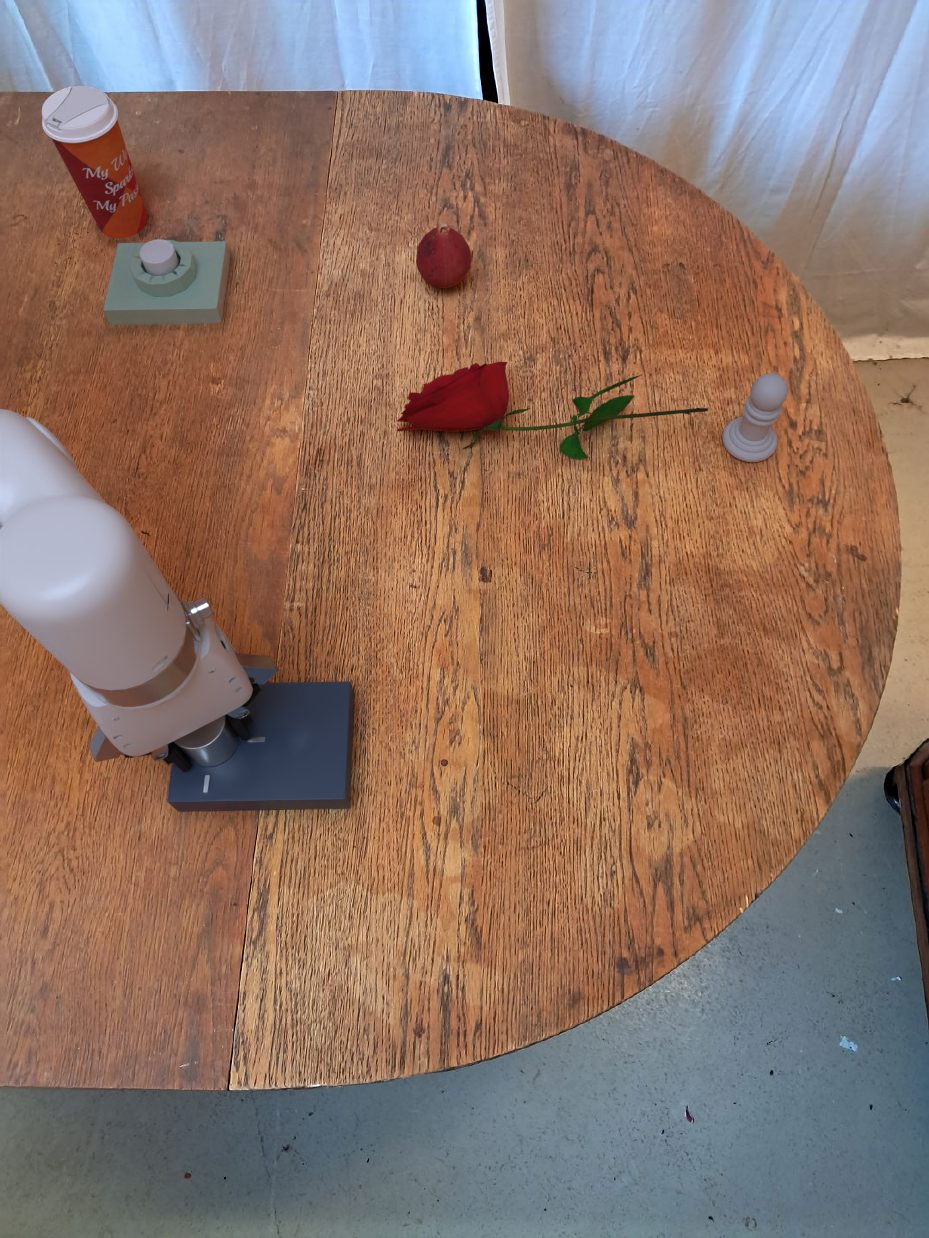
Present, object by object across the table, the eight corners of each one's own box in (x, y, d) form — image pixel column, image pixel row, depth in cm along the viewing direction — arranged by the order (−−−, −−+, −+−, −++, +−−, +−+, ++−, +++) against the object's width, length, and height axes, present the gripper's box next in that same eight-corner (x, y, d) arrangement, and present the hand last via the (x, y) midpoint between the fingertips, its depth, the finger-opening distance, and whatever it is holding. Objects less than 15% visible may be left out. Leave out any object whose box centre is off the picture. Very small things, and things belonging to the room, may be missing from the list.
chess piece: (714, 453, 88) (738, 392, 80) (730, 414, 90) (755, 350, 82) (766, 471, 87) (796, 411, 79) (782, 431, 89) (812, 369, 81)
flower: (715, 335, 80) (383, 354, 82) (718, 442, 80) (387, 457, 83) (698, 361, 89) (399, 377, 92) (700, 457, 89) (402, 470, 92)
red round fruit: (430, 311, 97) (427, 251, 90) (410, 276, 99) (405, 215, 92) (479, 295, 98) (480, 234, 91) (458, 260, 100) (456, 198, 93)
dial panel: (162, 812, 73) (149, 801, 70) (177, 697, 77) (166, 683, 74) (349, 808, 73) (344, 798, 70) (354, 694, 77) (350, 680, 74)
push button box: (110, 325, 96) (96, 297, 93) (124, 258, 101) (111, 229, 97) (221, 323, 96) (212, 295, 93) (231, 257, 101) (222, 227, 97)
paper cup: (125, 254, 101) (75, 140, 88) (75, 229, 103) (20, 113, 90) (171, 214, 104) (130, 97, 91) (122, 189, 106) (75, 72, 93)
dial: (196, 776, 71) (178, 758, 67) (176, 730, 73) (157, 710, 68) (247, 750, 72) (233, 730, 68) (226, 705, 74) (211, 683, 69)
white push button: (142, 277, 94) (136, 263, 93) (147, 252, 96) (141, 239, 95) (176, 276, 94) (171, 263, 93) (180, 252, 96) (176, 238, 95)
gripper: (235, 543, 59) (287, 655, 75) (-16, 659, 56) (95, 750, 72) (283, 632, 56) (326, 728, 73) (20, 761, 53) (128, 832, 69)
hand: (210, 738), depth 72 cm, fingers closed on dial, 4 cm apart
